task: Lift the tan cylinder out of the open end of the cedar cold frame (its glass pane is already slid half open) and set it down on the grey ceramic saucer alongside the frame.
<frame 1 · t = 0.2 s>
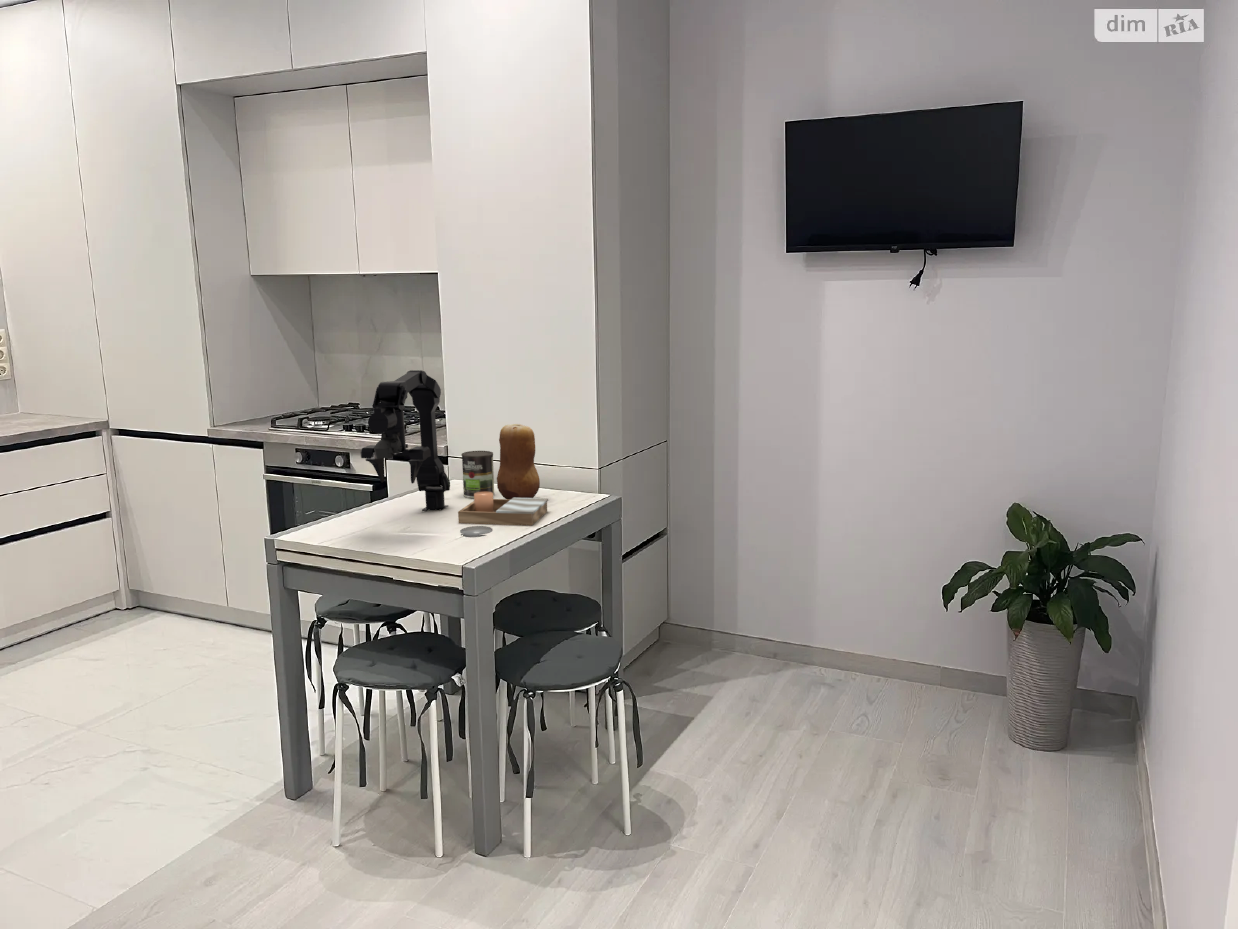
hand: (397, 482, 265), 14 cm above the table, tool pointing down, fingers open, 9 cm apart
butternut squash: (518, 502, 303), on the table
coffee can: (479, 495, 313), on the table
saucer: (476, 532, 266), on the table
tan cylinder: (484, 516, 282), point 1 cm above the table, touching cold frame
cold frame: (504, 519, 281), on the table
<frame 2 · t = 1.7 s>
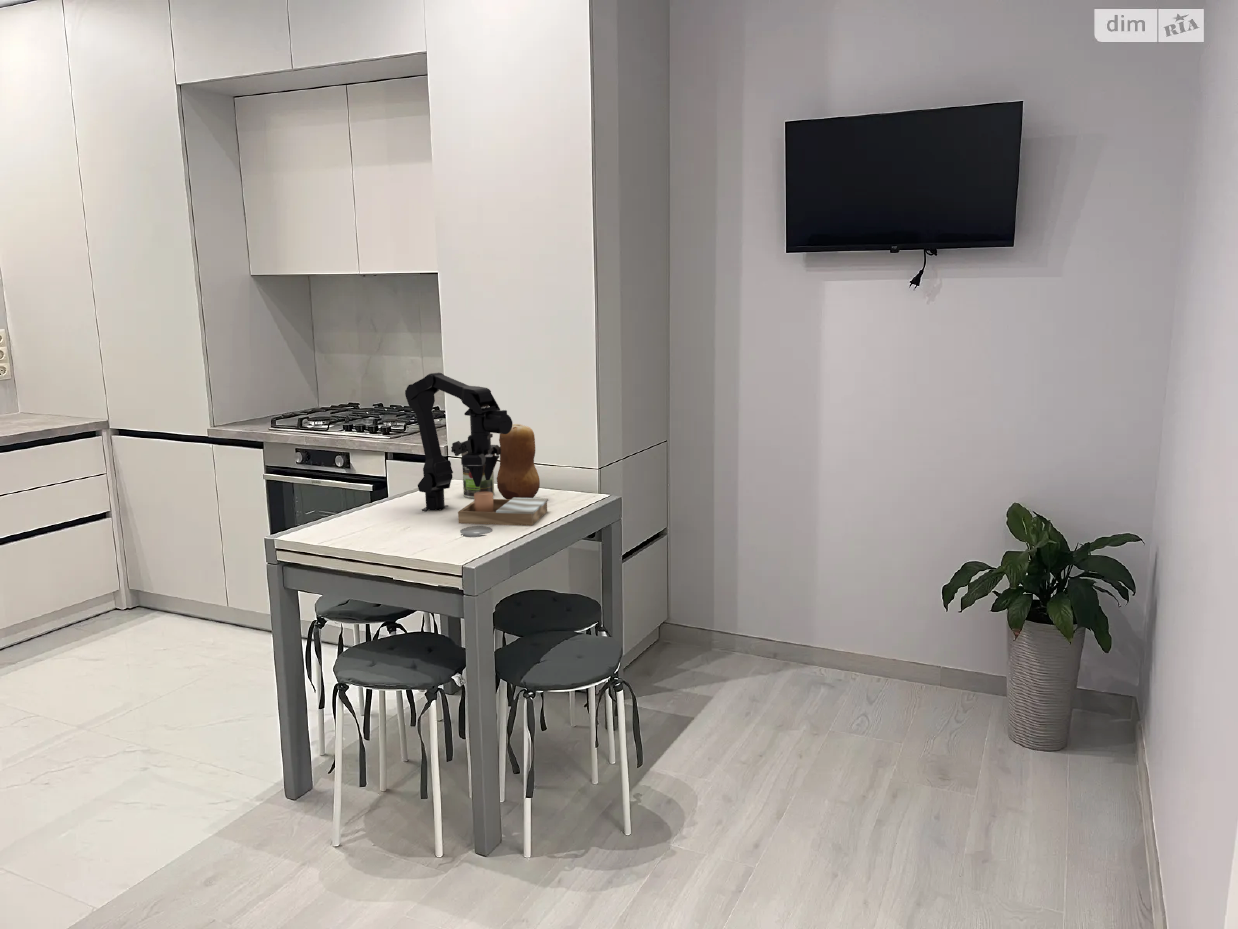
hand: (482, 483, 280), 11 cm above the table, tool pointing down, fingers open, 9 cm apart
nothing on the table moved.
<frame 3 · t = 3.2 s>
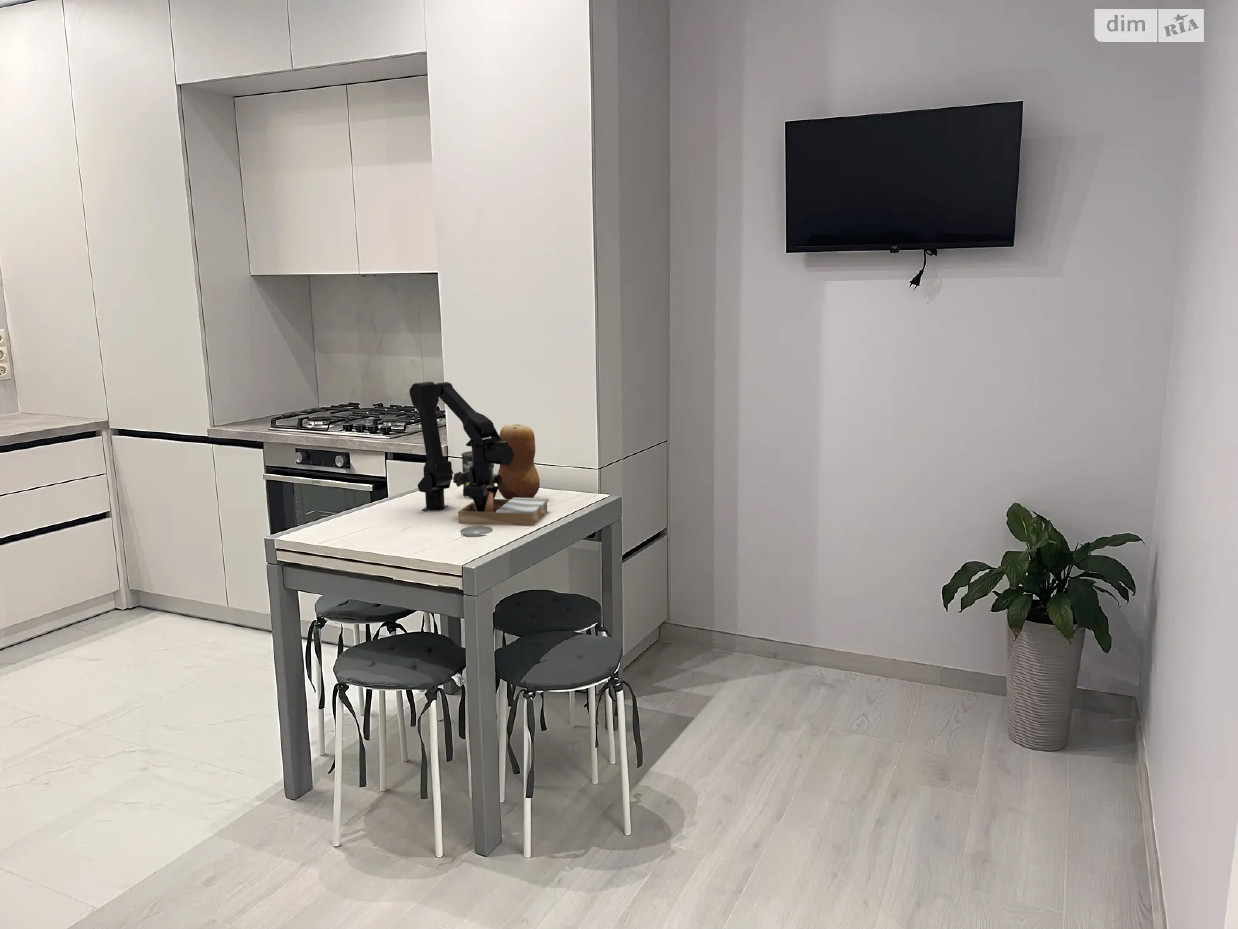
hand: (484, 513, 282), 2 cm above the table, tool pointing down, fingers closed on tan cylinder, 6 cm apart
tan cylinder: (484, 516, 282), point 1 cm above the table, touching cold frame, gripper
everything else where it was.
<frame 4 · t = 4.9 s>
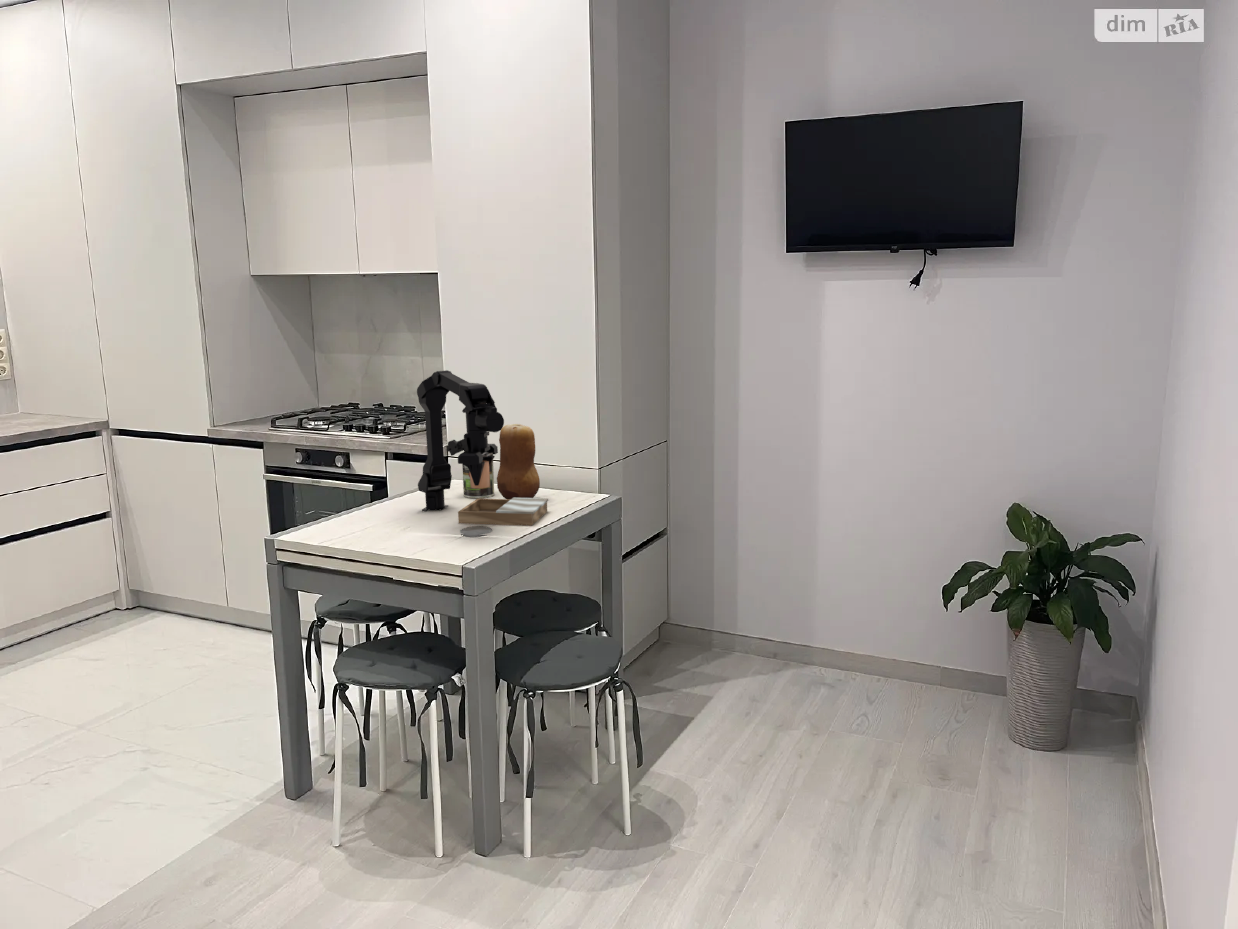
hand: (479, 483, 271), 13 cm above the table, tool pointing down, fingers closed on tan cylinder, 6 cm apart
tan cylinder: (480, 486, 271), point 12 cm above the table, touching gripper
everything else where it was.
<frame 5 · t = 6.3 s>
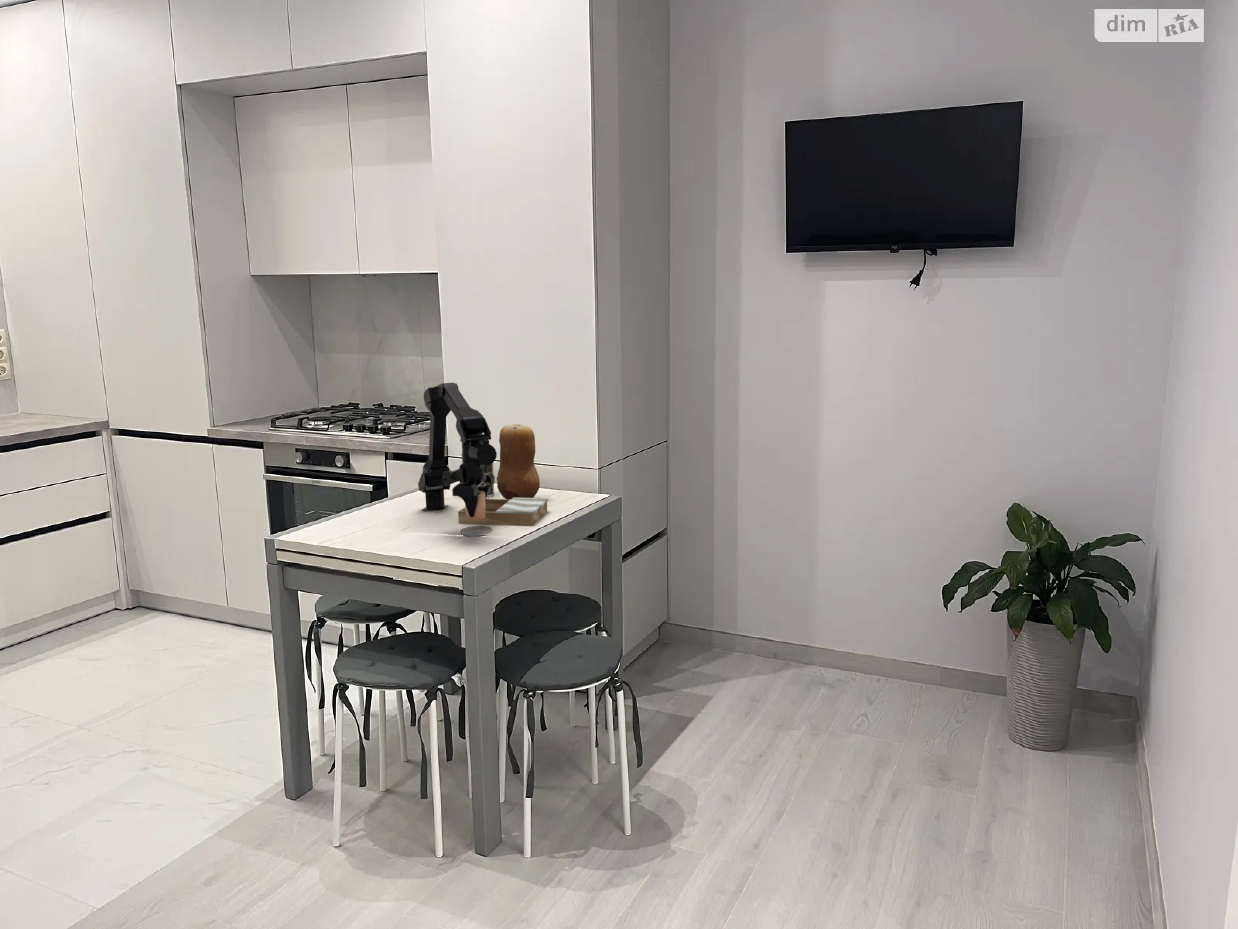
hand: (475, 514, 265), 5 cm above the table, tool pointing down, fingers closed on tan cylinder, 6 cm apart
tan cylinder: (475, 517, 265), point 4 cm above the table, touching gripper
everything else where it was.
when the fingers open (3 cm above the table, at t = 7.0 s): tan cylinder drops 2 cm, resting on saucer.
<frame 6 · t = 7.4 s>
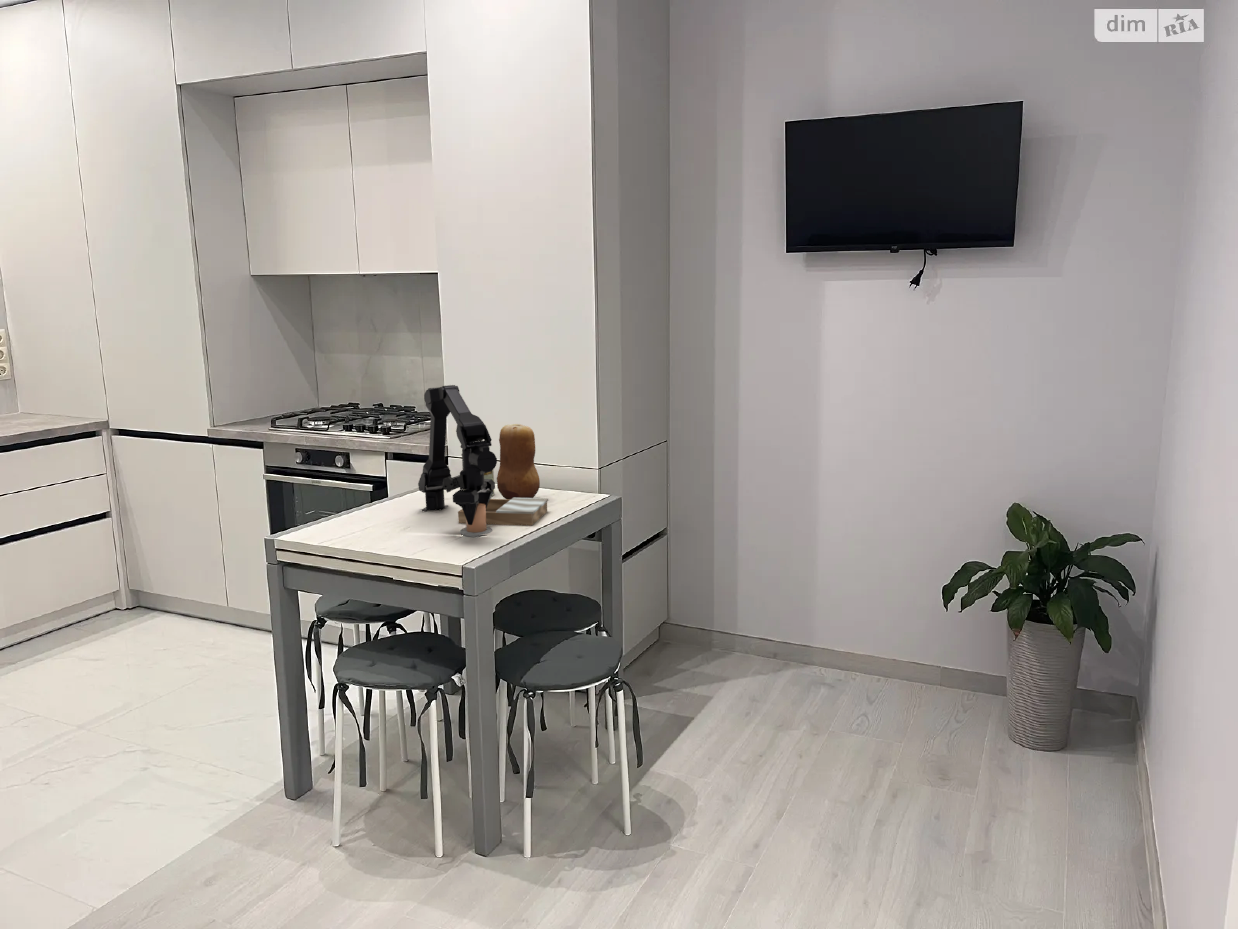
hand: (475, 520, 266), 3 cm above the table, tool pointing down, fingers open, 9 cm apart
tan cylinder: (476, 529, 266), point 1 cm above the table, touching saucer
everything else where it was.
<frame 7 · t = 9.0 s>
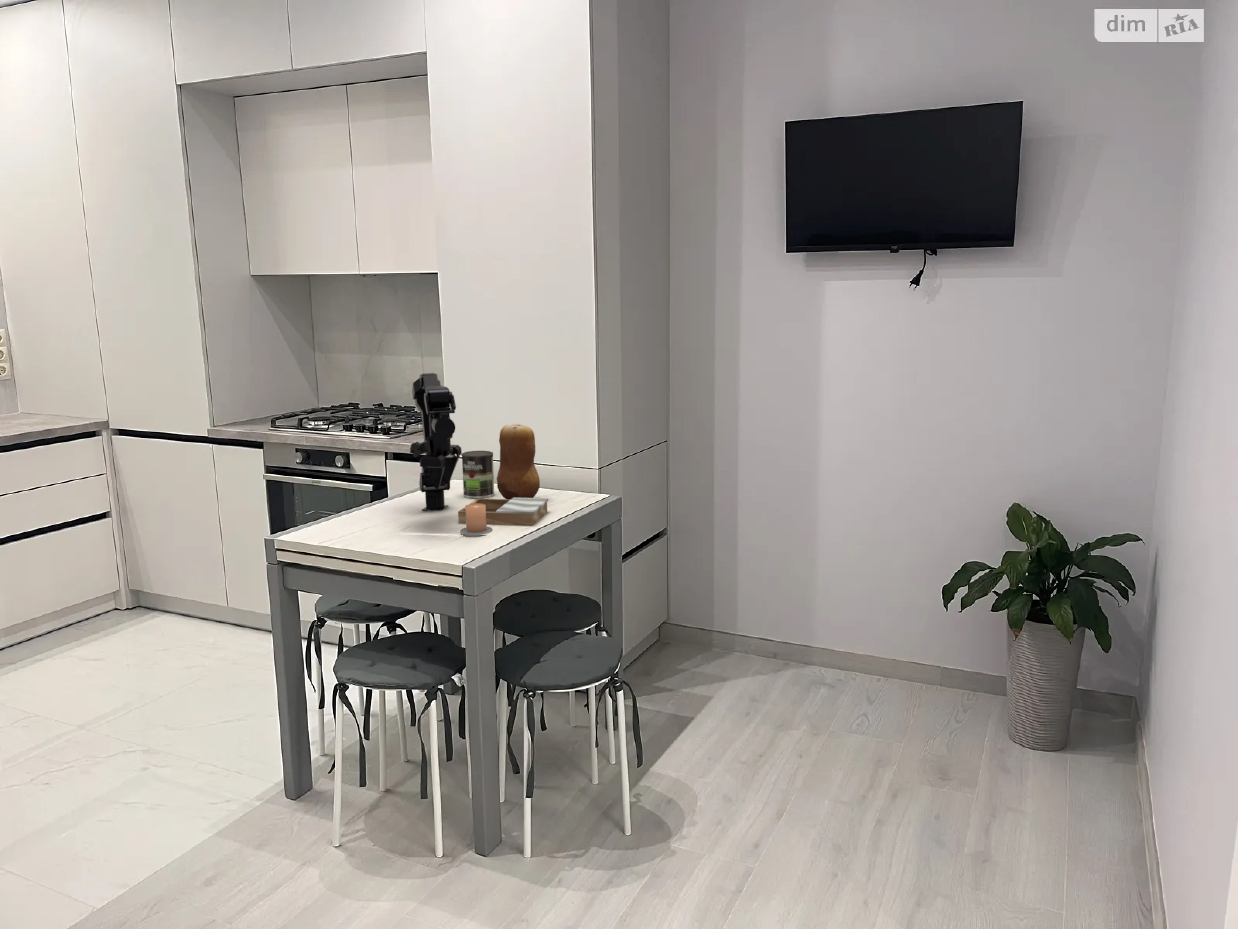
hand: (442, 484, 275), 12 cm above the table, tool pointing down, fingers open, 9 cm apart
nothing on the table moved.
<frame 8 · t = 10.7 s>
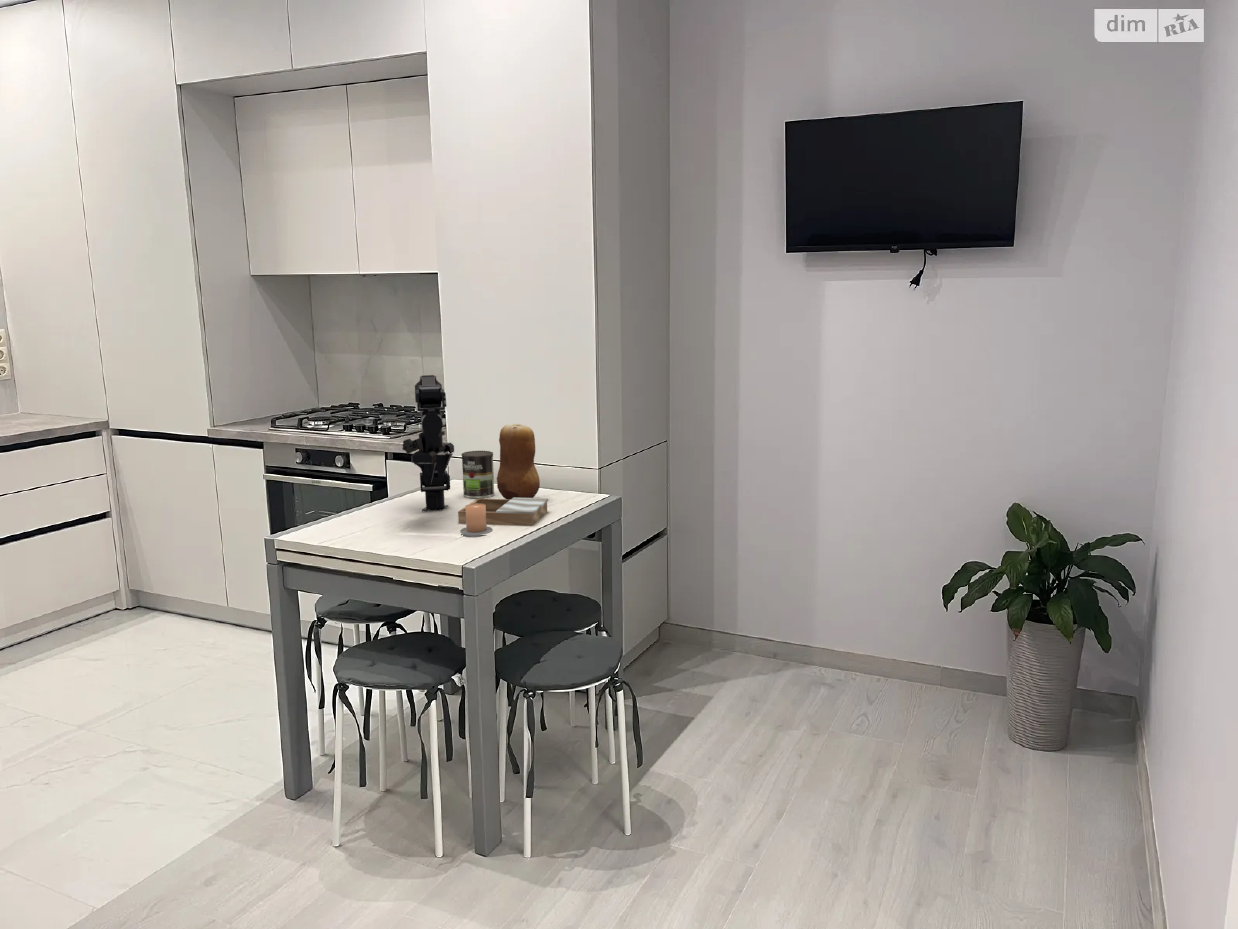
hand: (434, 481, 277), 12 cm above the table, tool pointing down, fingers open, 9 cm apart
nothing on the table moved.
at the end: tan cylinder 0.1 cm from the saucer (horizontally); tan cylinder tilted 0°; the gripper is holding nothing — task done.
